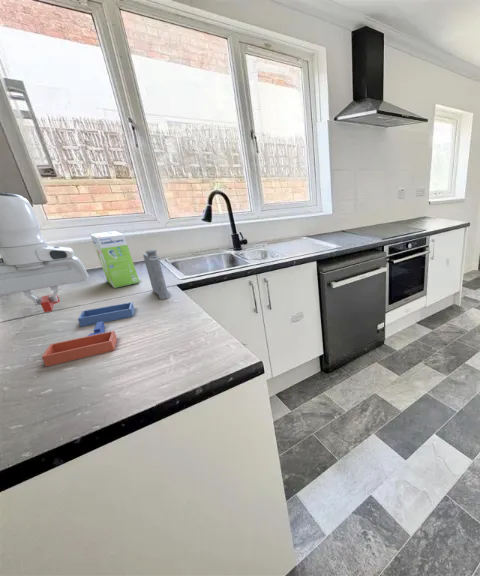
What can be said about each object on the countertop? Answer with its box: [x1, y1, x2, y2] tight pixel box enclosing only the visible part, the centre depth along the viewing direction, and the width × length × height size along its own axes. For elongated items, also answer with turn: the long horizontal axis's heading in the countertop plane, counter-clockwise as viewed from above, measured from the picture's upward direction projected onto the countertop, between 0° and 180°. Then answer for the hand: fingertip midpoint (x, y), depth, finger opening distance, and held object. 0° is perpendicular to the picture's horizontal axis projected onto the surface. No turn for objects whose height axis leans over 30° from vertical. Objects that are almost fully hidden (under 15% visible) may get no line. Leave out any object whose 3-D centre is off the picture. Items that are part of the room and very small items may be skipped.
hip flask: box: [142, 249, 170, 300], centre depth 131 cm, size 16×4×20 cm, turn 45°
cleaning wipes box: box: [90, 230, 140, 289], centre depth 148 cm, size 18×10×24 cm, turn 49°
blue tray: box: [77, 301, 135, 328], centre depth 111 cm, size 14×8×4 cm, turn 125°
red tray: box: [41, 330, 118, 367], centre depth 89 cm, size 14×8×4 cm, turn 125°
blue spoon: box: [87, 321, 106, 336], centre depth 99 cm, size 11×4×3 cm, turn 35°
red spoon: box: [40, 294, 61, 313], centre depth 88 cm, size 11×4×3 cm, turn 43°
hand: (47, 302), depth 87 cm, fingers closed on red spoon
